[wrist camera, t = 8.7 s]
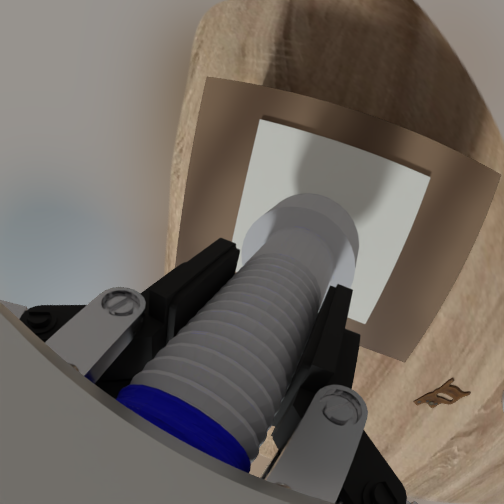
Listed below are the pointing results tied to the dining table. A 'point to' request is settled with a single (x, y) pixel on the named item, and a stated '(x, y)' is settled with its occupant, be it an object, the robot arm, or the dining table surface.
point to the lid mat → (336, 198)
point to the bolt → (249, 333)
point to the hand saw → (436, 400)
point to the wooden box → (365, 138)
